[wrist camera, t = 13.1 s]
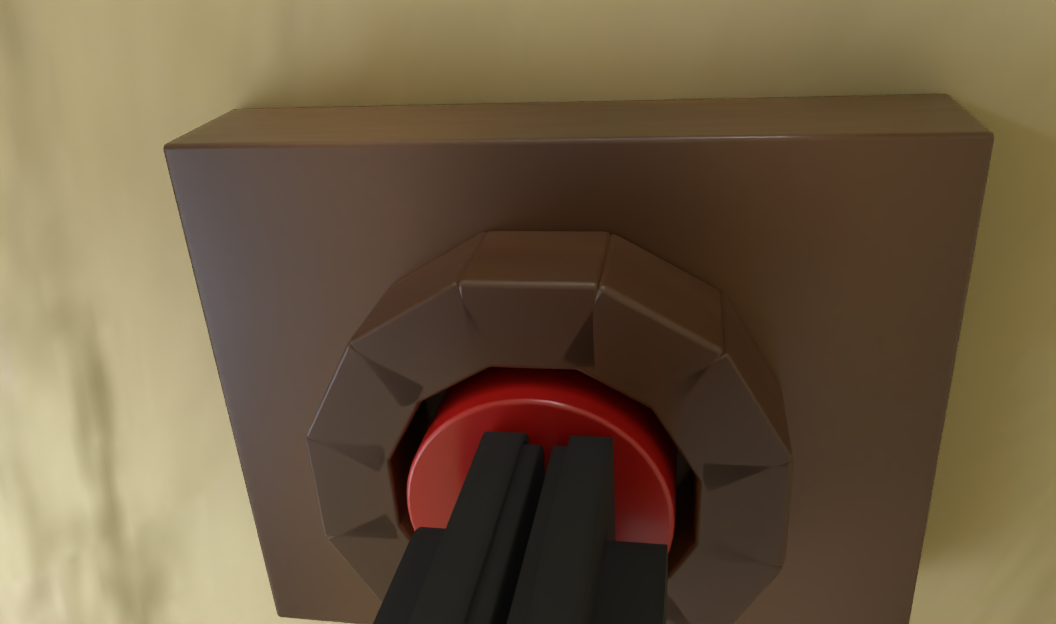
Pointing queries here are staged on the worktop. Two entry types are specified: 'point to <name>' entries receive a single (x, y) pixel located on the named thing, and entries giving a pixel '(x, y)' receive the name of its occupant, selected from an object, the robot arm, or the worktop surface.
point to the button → (548, 443)
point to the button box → (598, 320)
